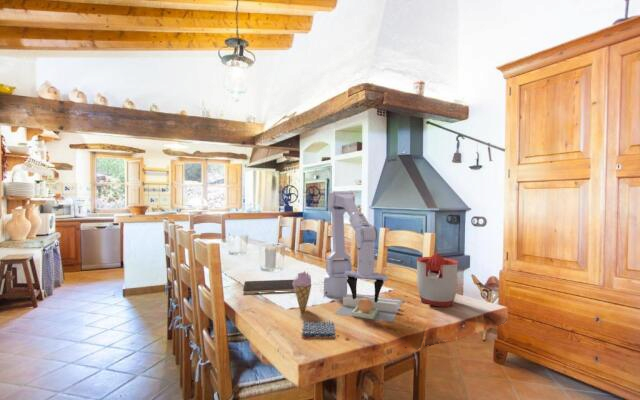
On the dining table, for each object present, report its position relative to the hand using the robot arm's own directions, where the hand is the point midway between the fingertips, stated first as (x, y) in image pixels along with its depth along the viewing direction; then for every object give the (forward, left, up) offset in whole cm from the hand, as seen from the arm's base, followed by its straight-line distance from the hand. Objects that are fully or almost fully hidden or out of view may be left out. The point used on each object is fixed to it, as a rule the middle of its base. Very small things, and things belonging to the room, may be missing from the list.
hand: (365, 299), depth 112 cm
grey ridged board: (0, +9, -6) cm, 11 cm away
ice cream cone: (-22, -5, -6) cm, 23 cm away
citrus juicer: (+22, +26, -6) cm, 35 cm away
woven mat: (-10, -18, -7) cm, 22 cm away
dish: (0, 0, -5) cm, 5 cm away
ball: (0, 0, -2) cm, 2 cm away
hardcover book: (-49, +18, -7) cm, 52 cm away
